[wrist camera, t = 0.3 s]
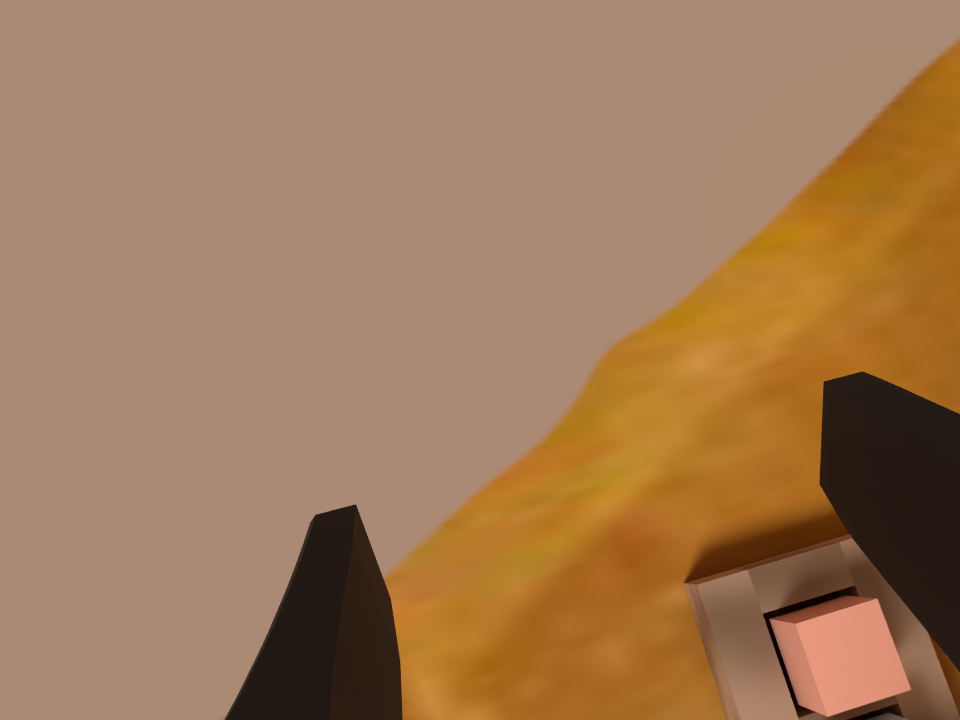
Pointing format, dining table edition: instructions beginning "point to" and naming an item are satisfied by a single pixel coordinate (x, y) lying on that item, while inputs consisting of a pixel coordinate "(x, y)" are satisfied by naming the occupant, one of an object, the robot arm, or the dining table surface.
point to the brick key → (839, 654)
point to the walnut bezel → (789, 580)
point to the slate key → (887, 717)
